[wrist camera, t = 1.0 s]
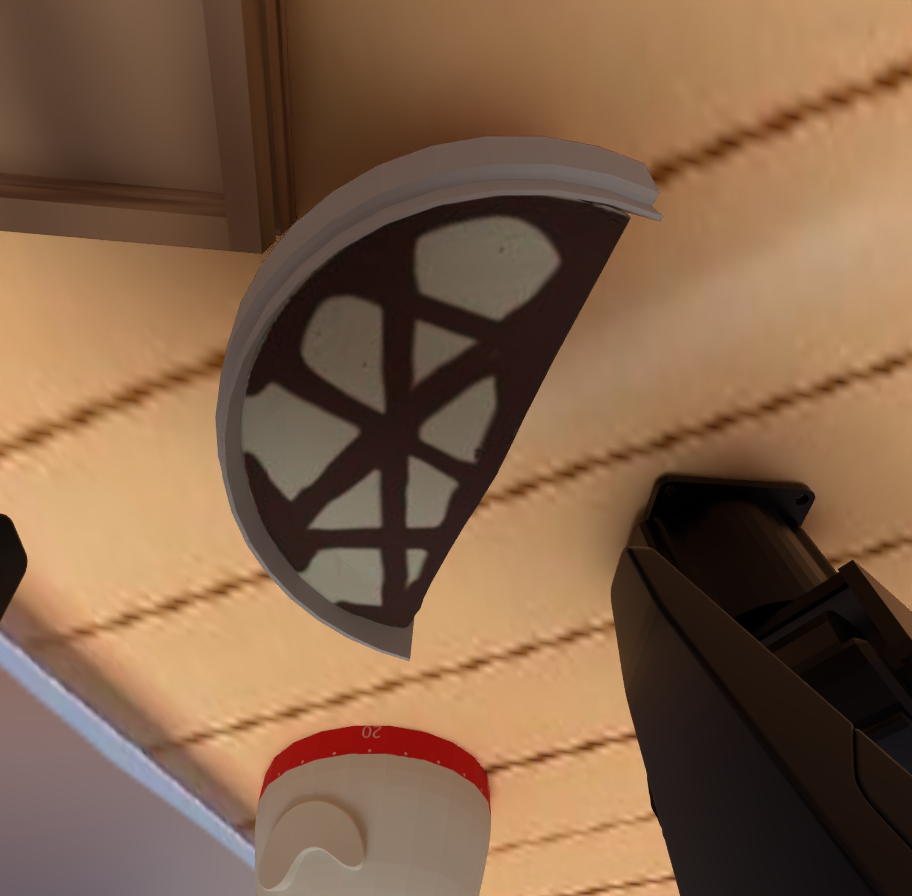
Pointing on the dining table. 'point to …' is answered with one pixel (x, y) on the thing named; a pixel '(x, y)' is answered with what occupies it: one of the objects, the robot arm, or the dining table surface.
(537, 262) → the food container
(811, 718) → the robot arm
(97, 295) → the dining table surface
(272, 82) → the tray
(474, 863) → the kitchen timer
